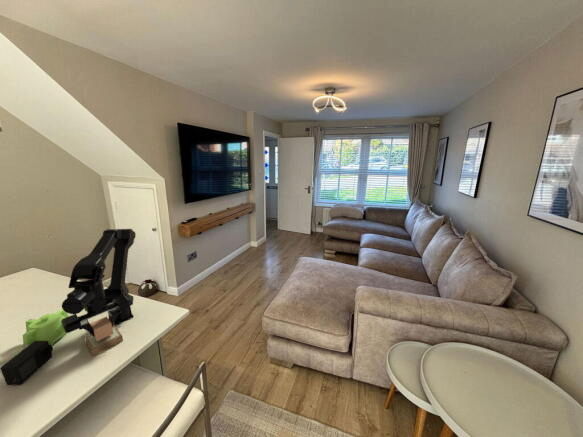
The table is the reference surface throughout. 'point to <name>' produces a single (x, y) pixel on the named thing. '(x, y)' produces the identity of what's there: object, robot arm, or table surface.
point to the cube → (102, 328)
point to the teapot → (45, 328)
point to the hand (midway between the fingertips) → (102, 331)
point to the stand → (103, 341)
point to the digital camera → (26, 362)
